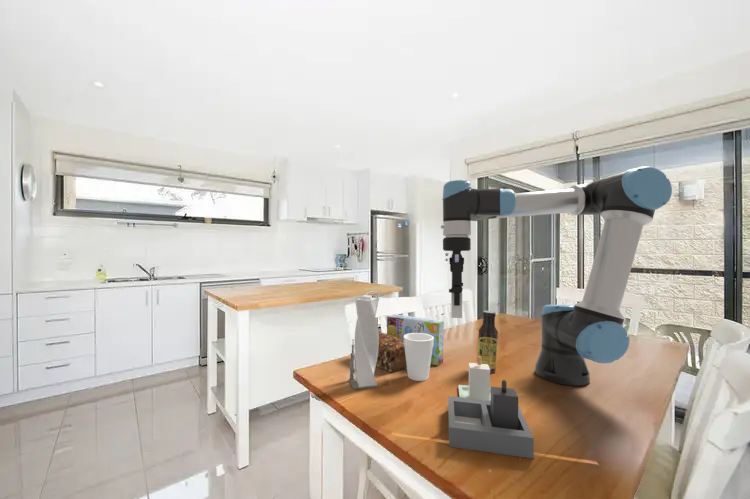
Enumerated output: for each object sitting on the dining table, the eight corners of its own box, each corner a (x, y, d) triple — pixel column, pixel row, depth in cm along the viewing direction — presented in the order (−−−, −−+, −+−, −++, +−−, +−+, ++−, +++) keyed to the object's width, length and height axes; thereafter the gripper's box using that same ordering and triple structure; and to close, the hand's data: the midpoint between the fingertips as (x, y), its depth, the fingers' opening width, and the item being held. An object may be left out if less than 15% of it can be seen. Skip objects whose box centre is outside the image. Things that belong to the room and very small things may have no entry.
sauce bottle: (477, 372, 103) (477, 312, 103) (476, 366, 110) (477, 309, 110) (498, 375, 102) (499, 313, 102) (496, 368, 108) (497, 310, 108)
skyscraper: (375, 377, 99) (376, 288, 99) (383, 388, 91) (384, 291, 91) (349, 379, 97) (350, 289, 97) (354, 391, 89) (355, 292, 89)
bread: (357, 358, 116) (357, 331, 116) (379, 353, 123) (379, 327, 123) (390, 374, 102) (390, 343, 102) (413, 367, 108) (413, 338, 108)
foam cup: (432, 386, 93) (433, 342, 93) (401, 383, 95) (402, 340, 95) (433, 373, 102) (433, 333, 102) (405, 371, 104) (405, 332, 104)
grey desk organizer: (517, 420, 75) (518, 370, 75) (533, 458, 61) (534, 397, 61) (448, 412, 78) (448, 364, 78) (449, 446, 65) (449, 388, 64)
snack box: (444, 361, 114) (444, 320, 114) (438, 366, 109) (438, 323, 109) (392, 351, 125) (393, 313, 125) (385, 355, 120) (386, 315, 120)
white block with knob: (487, 397, 85) (488, 354, 85) (489, 404, 81) (490, 359, 81) (468, 395, 86) (469, 352, 86) (469, 402, 82) (470, 357, 82)
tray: (494, 393, 89) (494, 388, 89) (503, 416, 76) (503, 411, 76) (458, 389, 91) (458, 384, 91) (460, 411, 79) (460, 406, 78)
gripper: (444, 238, 101) (444, 304, 101) (441, 235, 77) (441, 321, 77) (468, 238, 99) (468, 305, 99) (473, 234, 75) (473, 323, 75)
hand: (456, 312), depth 88 cm, fingers open, 13 cm apart
